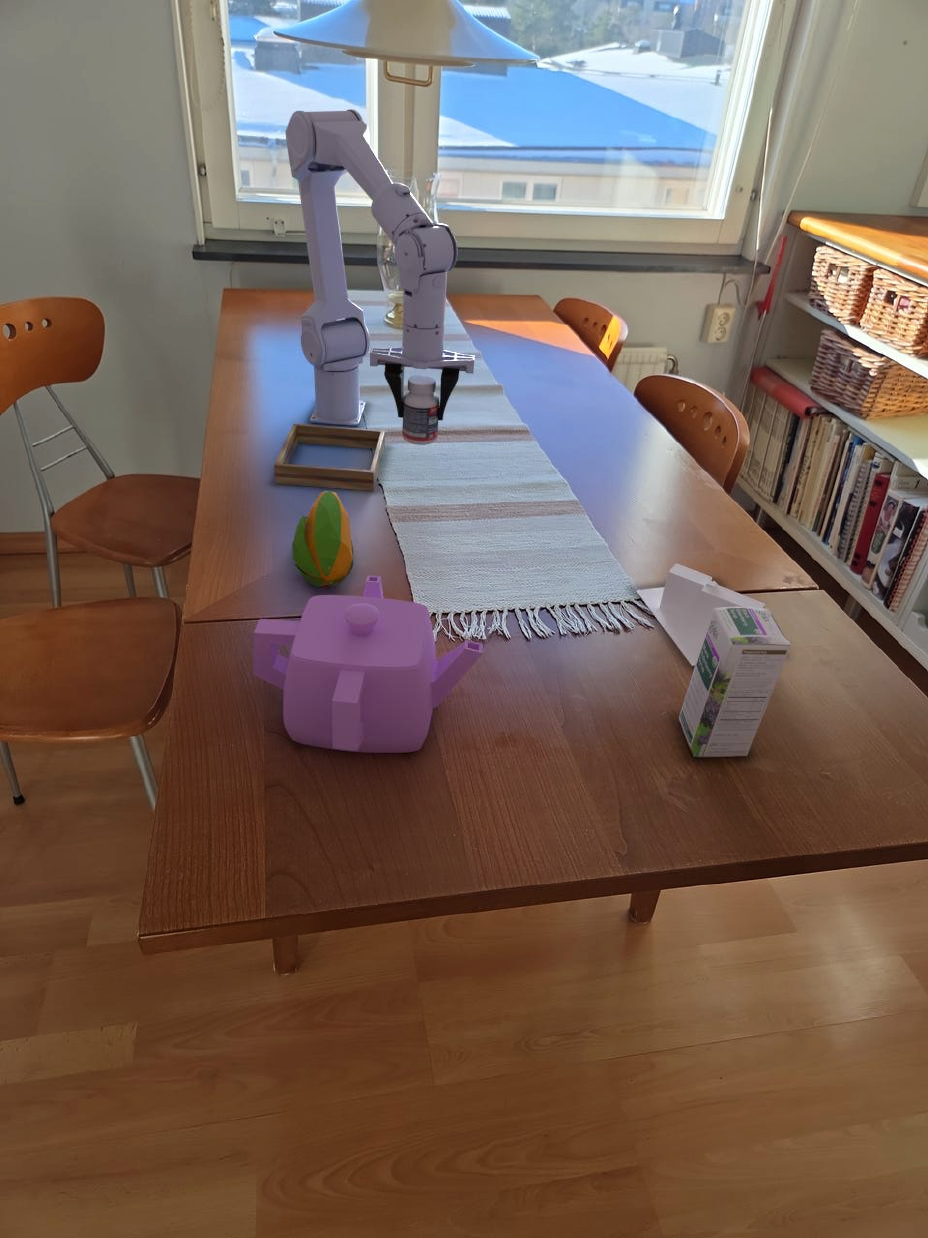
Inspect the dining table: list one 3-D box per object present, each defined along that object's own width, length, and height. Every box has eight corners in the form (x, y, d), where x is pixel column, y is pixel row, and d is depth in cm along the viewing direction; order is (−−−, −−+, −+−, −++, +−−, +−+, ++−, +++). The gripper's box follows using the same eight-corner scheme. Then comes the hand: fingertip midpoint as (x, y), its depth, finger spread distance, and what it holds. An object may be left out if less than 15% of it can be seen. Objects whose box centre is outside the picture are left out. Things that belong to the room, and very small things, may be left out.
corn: (289, 547, 94) (297, 464, 110) (289, 602, 99) (296, 515, 114) (356, 550, 95) (354, 468, 111) (353, 604, 100) (351, 518, 116)
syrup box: (676, 718, 87) (709, 605, 78) (731, 717, 88) (770, 605, 79) (692, 758, 83) (730, 643, 74) (750, 758, 83) (794, 643, 75)
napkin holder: (780, 653, 97) (794, 613, 94) (692, 666, 94) (704, 626, 91) (713, 580, 108) (725, 542, 105) (634, 590, 105) (642, 551, 102)
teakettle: (245, 701, 85) (232, 602, 78) (377, 636, 95) (377, 542, 87) (346, 801, 76) (343, 700, 68) (482, 718, 85) (492, 621, 78)
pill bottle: (433, 447, 123) (435, 389, 117) (398, 442, 123) (399, 384, 118) (441, 433, 127) (443, 375, 121) (407, 428, 127) (408, 371, 122)
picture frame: (294, 441, 133) (293, 423, 131) (384, 447, 133) (385, 430, 131) (275, 483, 121) (273, 465, 120) (373, 491, 121) (373, 472, 120)
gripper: (366, 327, 111) (367, 423, 120) (476, 335, 112) (469, 431, 120) (373, 311, 117) (373, 404, 125) (477, 319, 117) (470, 411, 125)
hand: (420, 416), depth 123 cm, fingers closed on pill bottle, 5 cm apart
